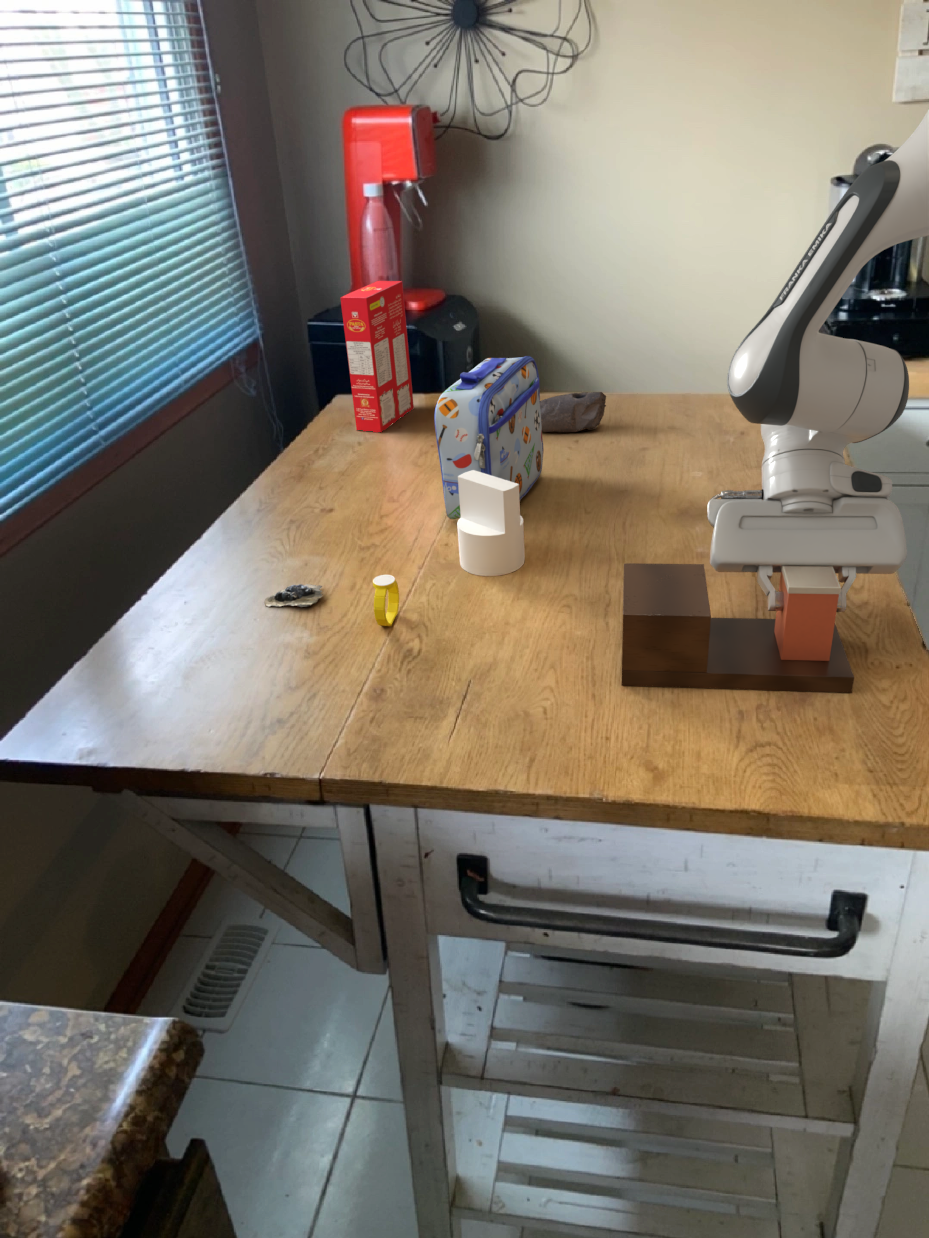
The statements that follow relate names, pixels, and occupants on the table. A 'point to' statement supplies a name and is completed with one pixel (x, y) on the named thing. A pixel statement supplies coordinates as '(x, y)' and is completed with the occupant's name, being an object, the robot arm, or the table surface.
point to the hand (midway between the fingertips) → (807, 610)
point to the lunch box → (490, 426)
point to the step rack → (708, 640)
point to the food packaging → (378, 354)
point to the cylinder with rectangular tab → (489, 525)
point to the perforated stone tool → (572, 412)
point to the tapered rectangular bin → (807, 612)
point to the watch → (381, 586)
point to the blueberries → (295, 596)
